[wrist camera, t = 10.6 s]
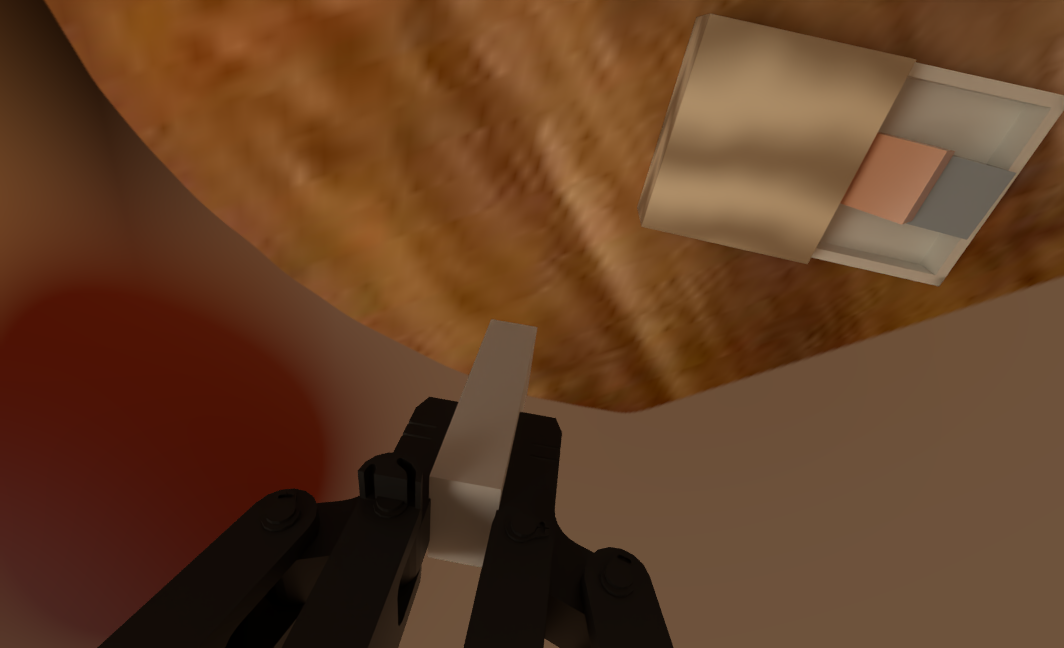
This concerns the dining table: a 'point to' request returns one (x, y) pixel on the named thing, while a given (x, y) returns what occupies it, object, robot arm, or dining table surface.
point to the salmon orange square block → (896, 177)
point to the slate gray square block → (962, 197)
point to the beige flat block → (765, 135)
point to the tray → (972, 132)
